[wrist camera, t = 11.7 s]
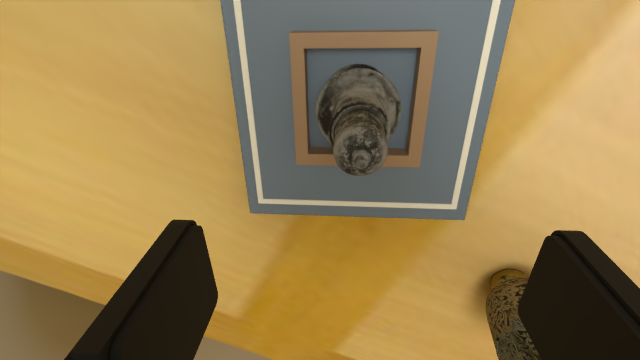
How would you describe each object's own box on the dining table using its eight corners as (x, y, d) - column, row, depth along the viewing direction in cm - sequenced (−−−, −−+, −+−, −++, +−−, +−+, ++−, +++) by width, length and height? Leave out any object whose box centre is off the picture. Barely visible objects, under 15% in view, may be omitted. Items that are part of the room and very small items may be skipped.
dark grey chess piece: (411, 96, 26) (453, 164, 15) (357, 148, 28) (361, 237, 17) (356, 41, 24) (361, 74, 14) (304, 101, 26) (273, 167, 16)
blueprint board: (216, -67, 22) (201, -74, 20) (525, -78, 21) (546, -87, 19) (253, 207, 33) (245, 222, 31) (461, 213, 31) (469, 230, 29)
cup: (454, 288, 36) (479, 358, 29) (500, 241, 32) (541, 307, 25) (511, 313, 37) (548, 386, 30) (561, 269, 34) (617, 341, 26)
